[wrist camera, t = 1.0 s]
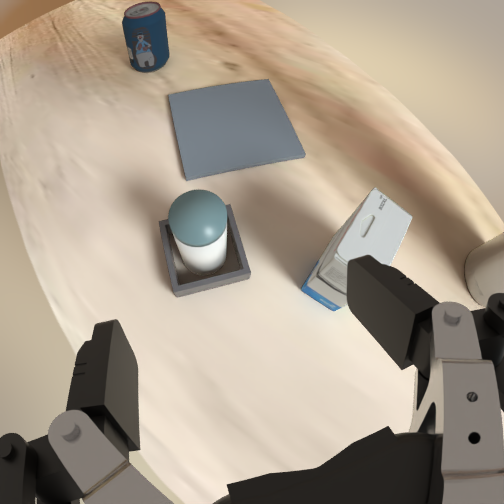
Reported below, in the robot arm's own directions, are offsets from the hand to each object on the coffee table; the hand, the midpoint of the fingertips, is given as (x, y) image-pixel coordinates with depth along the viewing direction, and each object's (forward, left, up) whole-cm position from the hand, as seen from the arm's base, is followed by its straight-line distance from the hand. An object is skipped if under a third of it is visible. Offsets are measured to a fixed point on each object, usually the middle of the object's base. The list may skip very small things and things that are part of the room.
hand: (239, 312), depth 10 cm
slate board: (-8, -29, -24) cm, 38 cm away
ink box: (-14, -5, -24) cm, 28 cm away
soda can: (+2, -48, -24) cm, 53 cm away
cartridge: (0, -11, -24) cm, 26 cm away
